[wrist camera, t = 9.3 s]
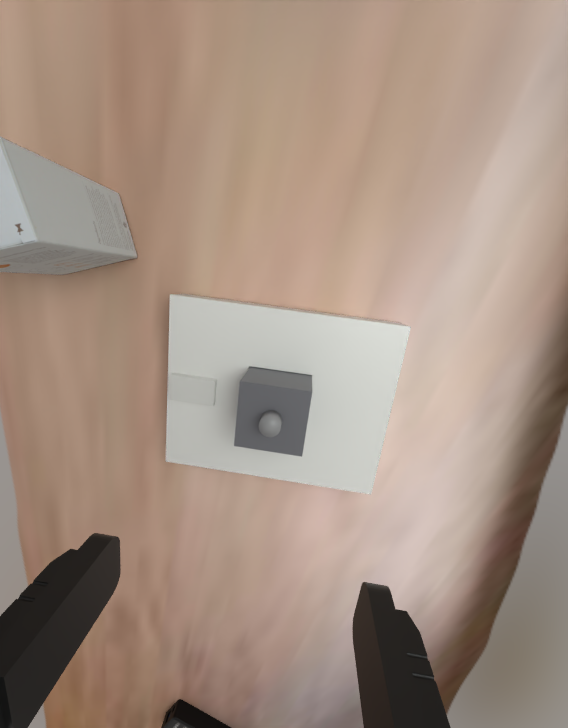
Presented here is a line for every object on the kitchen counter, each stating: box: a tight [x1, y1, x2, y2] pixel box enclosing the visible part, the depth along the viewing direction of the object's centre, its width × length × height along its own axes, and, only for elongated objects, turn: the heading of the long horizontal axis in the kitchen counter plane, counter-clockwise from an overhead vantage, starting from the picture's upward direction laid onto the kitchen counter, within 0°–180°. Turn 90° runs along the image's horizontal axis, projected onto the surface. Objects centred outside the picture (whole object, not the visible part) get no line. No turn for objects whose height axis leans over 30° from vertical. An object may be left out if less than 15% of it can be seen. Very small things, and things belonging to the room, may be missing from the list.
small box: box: [0, 137, 137, 275], centre depth 22 cm, size 8×6×10 cm
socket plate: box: [166, 294, 411, 494], centre depth 27 cm, size 16×20×4 cm
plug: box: [234, 366, 312, 457], centre depth 25 cm, size 5×5×8 cm
